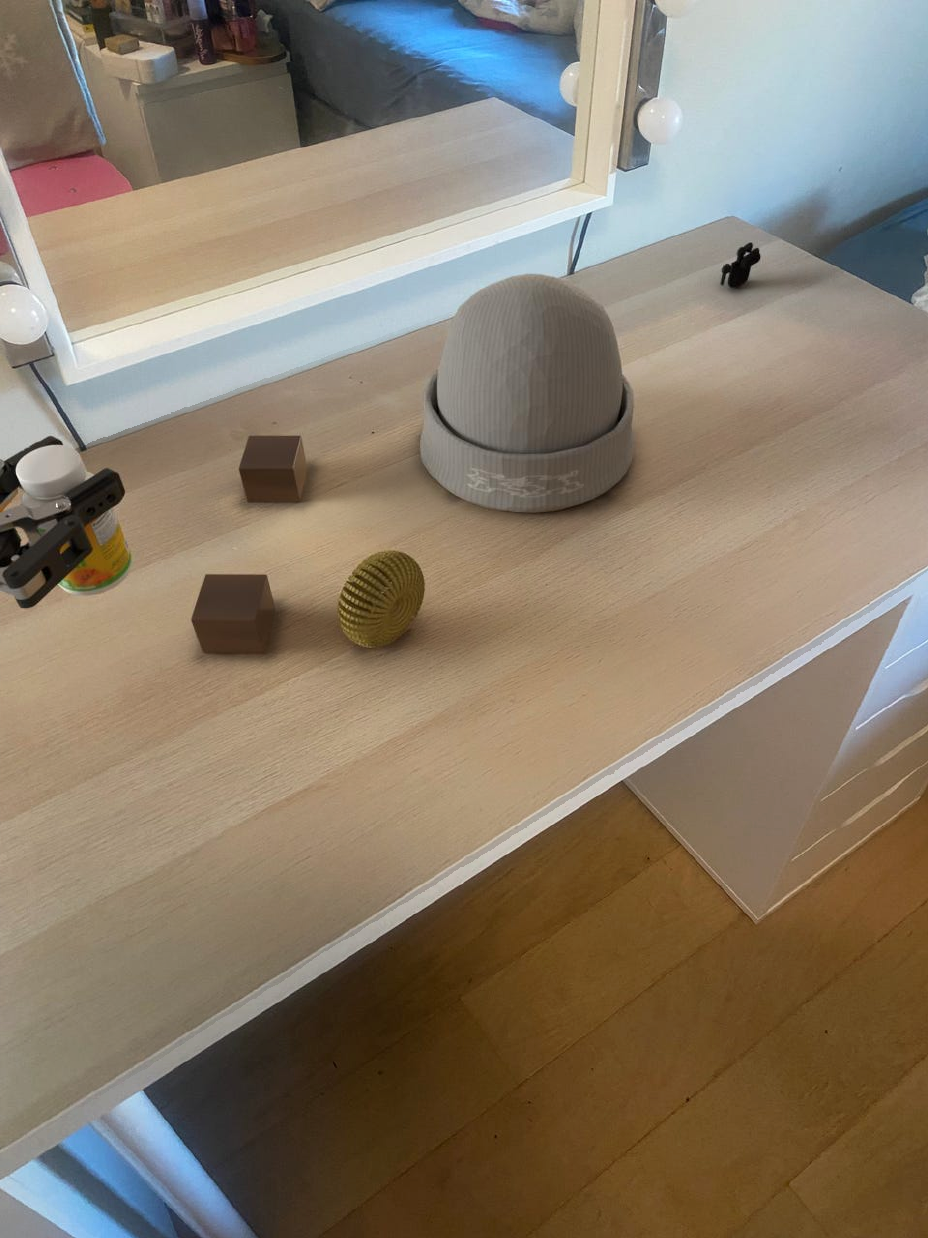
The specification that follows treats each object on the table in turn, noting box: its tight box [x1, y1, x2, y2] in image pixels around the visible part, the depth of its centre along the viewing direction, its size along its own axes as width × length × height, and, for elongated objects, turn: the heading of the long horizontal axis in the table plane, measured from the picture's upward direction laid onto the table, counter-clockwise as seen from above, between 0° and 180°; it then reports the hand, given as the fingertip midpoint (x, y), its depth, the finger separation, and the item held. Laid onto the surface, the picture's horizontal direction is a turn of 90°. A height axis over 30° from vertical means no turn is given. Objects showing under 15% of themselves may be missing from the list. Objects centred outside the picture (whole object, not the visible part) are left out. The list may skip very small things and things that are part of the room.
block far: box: [238, 435, 308, 503], centre depth 84 cm, size 5×5×4 cm
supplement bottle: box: [16, 444, 133, 597], centre depth 61 cm, size 5×5×10 cm
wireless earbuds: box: [719, 241, 762, 289], centre depth 107 cm, size 7×2×5 cm, turn 132°
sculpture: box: [337, 550, 426, 649], centre depth 69 cm, size 8×4×8 cm, turn 140°
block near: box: [190, 573, 276, 655], centre depth 71 cm, size 5×5×4 cm
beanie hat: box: [419, 273, 636, 514], centre depth 83 cm, size 21×21×20 cm
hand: (88, 464), depth 60 cm, fingers closed on supplement bottle, 5 cm apart
